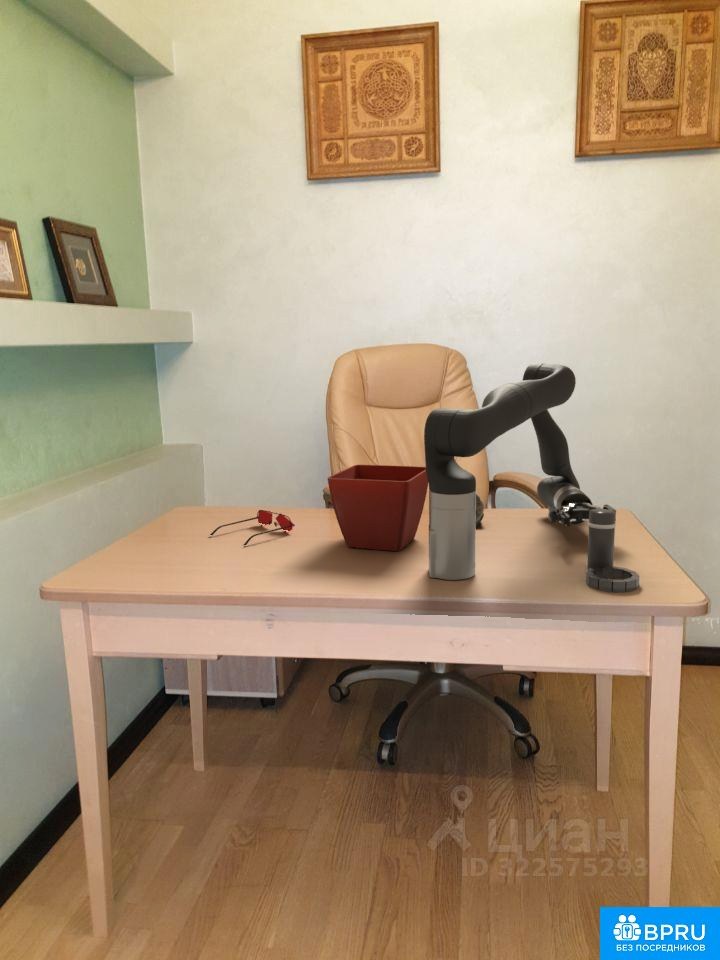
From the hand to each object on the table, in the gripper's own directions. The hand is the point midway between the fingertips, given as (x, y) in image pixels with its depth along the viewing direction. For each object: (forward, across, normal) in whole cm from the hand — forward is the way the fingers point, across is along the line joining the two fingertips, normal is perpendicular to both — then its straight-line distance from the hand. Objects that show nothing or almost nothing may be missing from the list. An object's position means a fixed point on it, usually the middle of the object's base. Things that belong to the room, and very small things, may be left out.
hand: (588, 521), depth 163 cm
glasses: (-16, -77, +7) cm, 79 cm away
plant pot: (-9, -45, +7) cm, 47 cm away
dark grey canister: (+11, 0, +7) cm, 13 cm away
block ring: (+20, 0, +7) cm, 21 cm away
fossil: (-26, -25, +8) cm, 37 cm away
